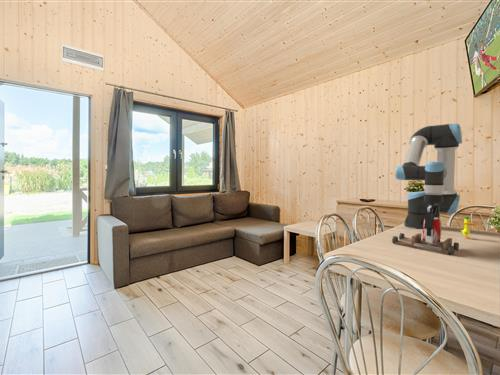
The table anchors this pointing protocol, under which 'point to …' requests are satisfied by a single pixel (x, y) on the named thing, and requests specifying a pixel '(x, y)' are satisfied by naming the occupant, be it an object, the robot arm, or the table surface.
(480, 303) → the table surface
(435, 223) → the soda can
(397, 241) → the chassis
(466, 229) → the toy figure
